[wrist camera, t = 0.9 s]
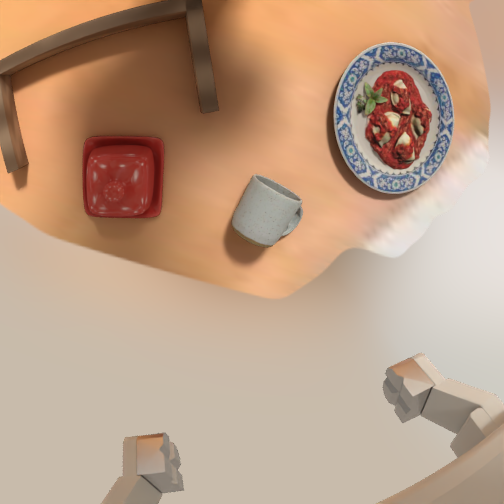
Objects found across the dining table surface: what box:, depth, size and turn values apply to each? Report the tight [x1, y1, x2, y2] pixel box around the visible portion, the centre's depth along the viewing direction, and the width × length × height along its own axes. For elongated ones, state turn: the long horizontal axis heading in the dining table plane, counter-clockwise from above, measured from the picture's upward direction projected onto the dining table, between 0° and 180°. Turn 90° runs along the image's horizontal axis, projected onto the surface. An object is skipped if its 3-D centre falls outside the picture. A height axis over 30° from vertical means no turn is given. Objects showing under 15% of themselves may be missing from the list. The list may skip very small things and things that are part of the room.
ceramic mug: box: [232, 174, 303, 247], centre depth 45 cm, size 11×8×8 cm
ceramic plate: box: [333, 42, 454, 194], centre depth 44 cm, size 26×26×3 cm
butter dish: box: [82, 136, 164, 218], centre depth 37 cm, size 12×12×8 cm
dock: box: [0, 0, 219, 173], centre depth 32 cm, size 16×30×4 cm, turn 98°
